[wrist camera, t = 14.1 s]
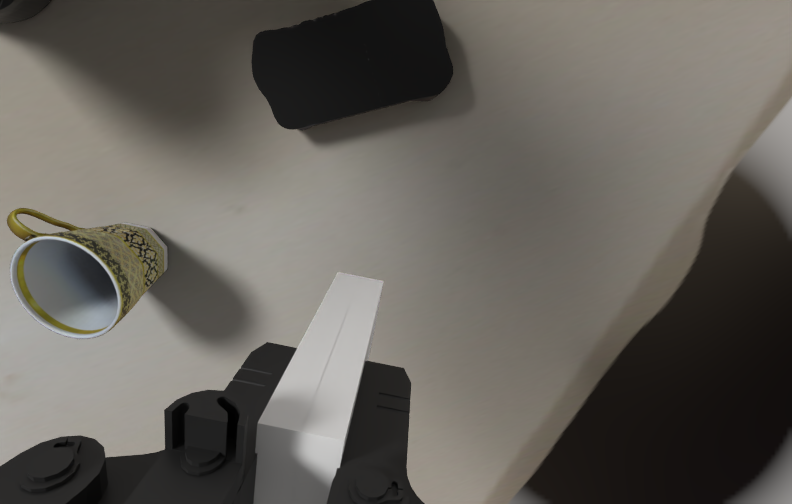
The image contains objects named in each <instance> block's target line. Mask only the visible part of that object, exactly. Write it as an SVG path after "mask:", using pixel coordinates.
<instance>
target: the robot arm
mask: <svg viewBox="0 0 792 504" xmlns="http://www.w3.org/2000/svg"><path fill="white" fill-rule="evenodd" d="M49 1H50V0H0V22H3V23H10V22H17V21H22V20H25V19H28V18H30V17H32V16H34V15H35V14H37V13H38V12H40V11H41V10H42V9H43V8H44V7H45V6H46V5H47V4H48V3H49ZM383 282H384V281H381V280H376V279H371V278H366V277H361V276H356V275H351V274H346V273H341V272H337V274H336V276H335V278H334V280H333V282H332V284H331V286H330V288H329V289H328V291H327V293H326V295H325V297H324V299H323V301H322V303H321V304H320V306H319V308H318V310H317V312H316V314H315V316H314V318H313V320H312V321H311V323H310V325H309V327H308V329H307V331H306V333H305V335H304V336H303V338H302V340H301V342H300V344H299V346H298V348H293V347H288V346H283V345H278V344H274V343H269V342H267V343H266V344H264V345H262V346H261V347H259V348H258V349H256V350H254V351H253V352H251V353H250V355H249V356H248V358H247V359H246V361H245V362H244V363H243V365H242V366H241V369H239V370H238V372H237V373H236V375H235V376H234V378H233V381H231V382H230V383H229V385H228V386H227V387H226V389H225V390H224V391H217V390H206V391H200V392H195V393H191V394H189V395H187V396H184V397H182V398H180V399H178V400H176V401H175V402H174V403H172V404H171V405H170V406H169V407H168V408H166V409H165V410H164V412H165V450H162V451H159V452H156V453H150V454H144V455H132V456H120V457H107V458H105V452H104V447H103V446H102V445H101V444H100V443H99V442H97V441H96V440H95V439H92V438H88V437H84V436H67V437H59V438H56V439H52V440H49V441H46V442H42V443H40V444H38V445H36V446H34V447H32V448H30V449H28V450H26V451H24V452H22V453H20V454H19V455H17V456H16V457H14V458H13V459H11V460H9V461H8V462H6V463H5V464H3V465H2V466H0V504H424V503H423V502H422V501H421V500H420V499H419V498H418V497H417V495H416V494H415V492H414V491H413V489H412V487H411V486H410V483H409V480H408V477H407V468H406V464H407V447H408V429H409V412H410V394H411V382H410V380H409V378H408V376H407V374H406V372H405V370H404V368H400V367H395V366H390V365H385V364H380V363H375V362H370V361H368V359H369V355H370V350H371V345H372V339H373V334H374V329H375V324H376V319H377V313H378V308H379V303H380V298H381V292H382V287H383Z"/></svg>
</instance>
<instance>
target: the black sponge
mask: <svg viewBox="0 0 792 504" xmlns="http://www.w3.org/2000/svg"><path fill="white" fill-rule="evenodd" d="M252 72H253V77H254V80H255V82H256V84H257V86H258V88H259V90H260V91H261V92H262V94H263V95H264V96H265V97H266V99H267V101H268V102H269V104H270V106H271V109H272V112H273V114H274V117H275V119H276V120H277V122H278V124H280V125H281V126H282V127H284V128H286V129H300V130H305V129H308V128H310V127H312V126H315V125H318V124H323V123H327V122H331V121H334V120H338V119H342V118H346V117H350V116H354V115H358V114H361V113H366V112H369V111H373V110H377V109H381V108H385V107H389V106H392V105H396V104H400V103H404V102H407V101H429V100H431V99H433V98H434V97H436V96H437V95H438V94H440V93H441V92H442V91H443V90H444V89H445V88H446V87H447V85H448V84H449V82H450V80H451V78H452V75H453V66H452V63H451V60H450V57H449V54H448V51H447V48H446V43H445V37H444V32H443V26H442V23H441V20H440V17H439V14H438V11H437V9H436V7H435V4H434V2H433V0H371V1H367V2H364V3H362V4H360V5H358V6H355V7H352V8H348V9H345V10H342V11H340V12H338V13H333V14H331V15H325V16H323V17H320V18H317V19H315V20H308V21H303V22H302V23H300V24H299V25H294V26H291V27H288V28H281V29H278V30H267V31H263V32H260V33H259V34H257V35H256V37H255V39H254V41H253V52H252Z"/></svg>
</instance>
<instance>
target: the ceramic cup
mask: <svg viewBox="0 0 792 504" xmlns="http://www.w3.org/2000/svg"><path fill="white" fill-rule="evenodd" d="M17 214H28V215H31V216H34V217H36V218H38V219H41V220H43V221H45V222H48V223H50V224H53V225H55V226H59V227H63V228H66V229H68V230H70V231H67V232H59V233H53V234H42V233H38V232H35V231H33V230H31V229H30V228H28V227H26V226H25V225H23V224H22V223H21V222H20V221H19V220H18V219H17V217H16V215H17ZM7 224H8V226H9V228H10V230H11V231H12V232H13V233H14V234H15V235H16V236H18V237H19V238H21V239H23V240H25V241H26V242H24V243H23V244H22V245H21V246H20V247H19V248H18V249H17V250H16V251H15V253H14V255H13V257H12V260H11V264H10V279H11V283H12V287H13V290H14V292H15V294H16V296H17V298H18V300H19V302H20V303H21V304H22V306H23V307H24V309H25V310H26V311H27V312H28V313H29V314H30V315H31V316H32V317H33V318H34V319H35V320H36V321H38V322H39V323H40V324H41V325H43V326H45V327H46V328H48V329H49V330H51V331H53V332H55V333H57V334H60V335H63V336H66V337H70V338H76V339H90V338H95V337H99V336H101V335H103V334H105V333H107V332H108V331H110V330H111V329H112V328H113V327H114V326H115V325H116V324H117V323H118V322H119V321H120V320H121V319H122V318H123V317H124V316H125V315H126V314H127V313H128V312H129V311H130V310H131V309H132V308H133V307H134V305H135V304H136V303H137V302H138V300H139V299H140V298H141V296H142V295H143V294H144V293H145V292H146V291H147V290H148V289H149V288H150V287H151V286H152V285H153V284H154V282H155V281H156V280H157V279H158V278H159V277H160V276H161V275H162V274H163V273H164V272H165V271H166V270H167V266H168V254H167V246H166V245H165V244H164V243H163V241H162V240H161V239H160V238H159V237H158V236H157V234H156V233H155V232H154V231H153V230H152V229H151V228H149V227H145V226H140V225H135V224H131V223H121V224H116V225H110V226H103V227H96V228H89V229H84V228H79V227H76V226H74V225H71V224H69V223H65V222H62V221H59V220H56V219H54V218H51V217H49V216H47V215H45V214H43V213H40V212H38V211H35V210H32V209H27V208H20V209H16V210H14V211H12V212H11V213H10V215H9V216H8V219H7Z"/></svg>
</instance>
